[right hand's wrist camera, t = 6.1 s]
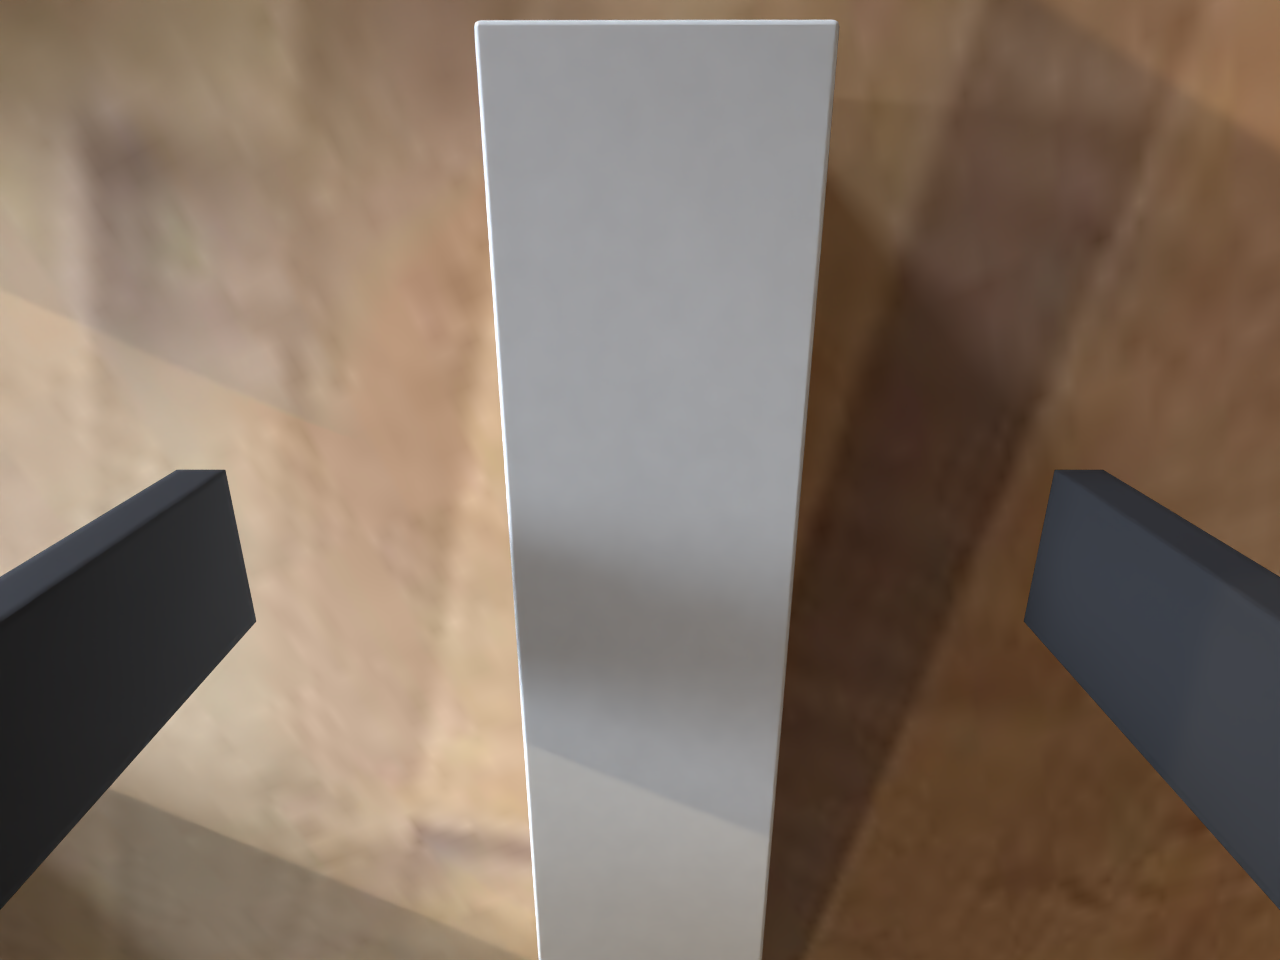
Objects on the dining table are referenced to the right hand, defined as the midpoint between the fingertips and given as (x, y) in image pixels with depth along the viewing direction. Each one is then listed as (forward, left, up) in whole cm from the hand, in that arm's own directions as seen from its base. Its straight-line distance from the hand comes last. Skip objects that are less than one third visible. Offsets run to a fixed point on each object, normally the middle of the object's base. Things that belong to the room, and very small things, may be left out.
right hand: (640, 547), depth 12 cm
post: (+11, -18, -8) cm, 23 cm away
